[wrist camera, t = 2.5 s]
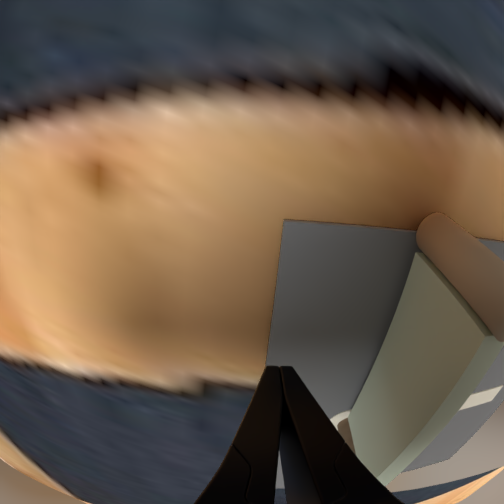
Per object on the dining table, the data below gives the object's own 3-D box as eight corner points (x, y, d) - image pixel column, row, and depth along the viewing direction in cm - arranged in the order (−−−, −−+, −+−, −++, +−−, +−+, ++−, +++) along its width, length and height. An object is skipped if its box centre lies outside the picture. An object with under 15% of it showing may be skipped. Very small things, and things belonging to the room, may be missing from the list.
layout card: (448, 457, 22) (448, 459, 21) (246, 486, 21) (246, 489, 21) (583, 253, 11) (586, 255, 11) (283, 219, 10) (284, 222, 10)
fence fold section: (370, 415, 15) (390, 490, 10) (344, 417, 15) (360, 496, 10) (455, 215, 9) (545, 288, 5) (422, 210, 9) (513, 289, 5)
